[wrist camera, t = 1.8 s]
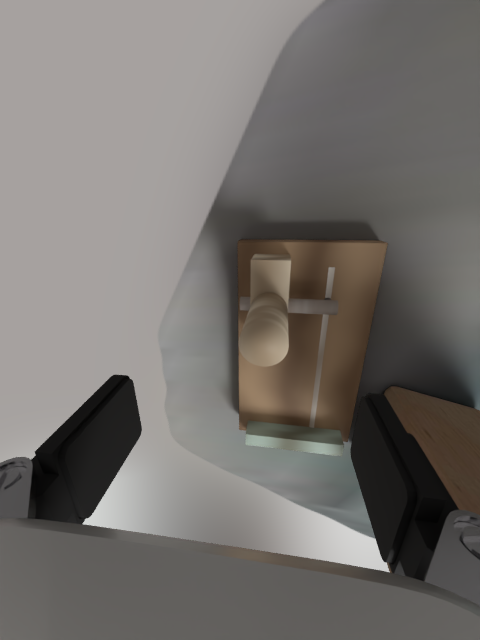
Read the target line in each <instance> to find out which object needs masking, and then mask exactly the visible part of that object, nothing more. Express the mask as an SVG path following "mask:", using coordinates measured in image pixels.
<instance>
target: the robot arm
mask: <svg viewBox="0 0 480 640" xmlns="http://www.w3.org/2000/svg"><path fill="white" fill-rule="evenodd" d="M141 431H142V428H141V421H140V416H139V411H138V406H137V400H136V396H135V390H134V384H133V381H132V380H131V379H130V378H129V377H128V376H126V375H113V376H111V377H110V378H109V379H108V380H107V381H106V382H105V383H104V384H103V385H102V386H101V387H100V388H99V389H98V390H97V391H96V392H95V393H94V394H93V395H92V396H91V397H90V398H89V399H88V400H87V401H86V402H85V403H84V404H83V405H82V406H81V407H80V408H79V409H78V410H77V411H76V412H75V413H74V414H73V415H72V416H71V417H70V418H69V419H68V420H67V421H66V422H65V423H64V424H63V425H62V426H60V427H59V428H58V429H57V431H55V432H54V433H53V434H52V435H51V436H50V437H49V438H48V439H47V440H46V441H45V442H44V443H43V444H42V445H41V446H40V447H39V448H38V449H37V450H36V451H35V454H36V456H35V457H34V458H33V459H32V460H30V459H29V458H26V457H16V458H12V459H9V460H6V461H4V462H1V463H0V640H480V515H478V514H476V513H474V512H470V511H467V510H459V508H458V507H457V505H456V503H455V502H454V500H453V499H452V497H451V495H450V494H449V492H448V490H447V489H446V487H445V486H444V484H443V482H442V481H441V479H440V477H439V476H438V474H437V473H436V471H435V469H434V468H433V466H432V464H431V463H430V461H429V460H428V458H427V456H426V455H425V453H424V452H423V450H422V448H421V447H420V445H419V443H418V442H417V440H416V439H415V437H414V436H413V435H412V434H410V433H407V432H406V430H405V428H404V427H403V425H402V423H401V421H400V420H399V418H398V416H397V415H396V413H395V411H394V410H393V408H392V406H391V405H390V403H389V401H388V400H387V398H386V396H385V395H383V394H370V393H368V394H367V395H366V397H362V398H361V401H360V406H359V410H358V415H357V420H356V425H355V430H354V435H353V440H352V445H351V459H352V462H353V466H354V469H355V472H356V475H357V479H358V482H359V485H360V489H361V492H362V495H363V498H364V502H365V505H366V508H367V512H368V515H369V518H370V521H371V525H372V528H373V531H374V535H375V538H376V541H377V544H378V548H379V551H380V554H381V557H382V559H383V561H384V562H387V563H389V566H390V569H391V572H392V573H389V572H384V571H380V570H374V569H368V568H363V567H357V566H351V565H345V564H340V563H334V562H329V561H322V560H316V559H309V558H303V557H297V556H290V555H283V554H278V553H271V552H265V551H258V550H252V549H246V548H239V547H232V546H226V545H219V544H213V543H206V542H199V541H193V540H186V539H179V538H172V537H166V536H159V535H153V534H146V533H139V532H131V531H125V530H118V529H110V528H104V527H97V526H90V525H83V524H82V523H83V522H84V520H85V519H86V518H89V517H90V516H91V515H92V513H93V512H94V510H95V509H96V507H97V505H98V503H99V502H100V501H101V499H102V497H103V496H104V494H105V492H106V491H107V489H108V488H109V486H110V484H111V482H112V481H113V479H114V478H115V476H116V475H117V473H118V471H119V470H120V468H121V466H122V465H123V463H124V461H125V460H126V458H127V457H128V455H129V453H130V452H131V450H132V448H133V447H134V445H135V444H136V442H137V440H138V439H139V437H140V435H141Z"/></svg>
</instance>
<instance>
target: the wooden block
mask: <svg viewBox="0 0 480 640" xmlns="http://www.w3.org/2000/svg"><path fill="white" fill-rule="evenodd" d="M383 395H385V396H386V398H387V400H388V401H389V403H390V405H391V406H392V408H393V410H394V411H395V413H396V415H397V416H398V418H399V420H400V421H401V423H402V425H403V427H404V428H405V430H406V432H407V433H410V434H412V435H413V436H414V437H415V439H416V440H417V442H418V443H419V445H420V447H421V448H422V450H423V452H424V453H425V455H426V456H427V458H428V460H429V461H430V463H431V464H432V466H433V468H434V469H435V471H436V473H437V474H438V476H439V477H440V479H441V481H442V482H443V484H444V486H445V487H446V489H447V490H448V492H449V494H450V495H451V497H452V499H453V500H454V502H455V503H456V505H457V507H458V508H459V510H467V511H470V512H474V513H476V514H478V515H480V411H479V410H477V409H474V408H471V407H468V406H464V405H460V404H457V403H453V402H450V401H446V400H443V399H439V398H436V397H432V396H429V395H425V394H421V393H418V392H414V391H411V390H407V389H404V388H400V387H397V386H390V387H389V388H388V389H386V391H385V393H384V394H383ZM387 565H388V568H389V571H390V573H392V572H391V569H390V566H389V563H387Z"/></svg>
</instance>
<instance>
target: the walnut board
mask: <svg viewBox="0 0 480 640" xmlns="http://www.w3.org/2000/svg"><path fill="white" fill-rule="evenodd" d="M387 245H388V243H386V242H383V241H379V240H262V239H241V240H239V241H238V338H239V337H240V334H241V331H242V329H243V326H244V323H245V320H246V318H247V315H248V312H249V311H244V310H240V298H241V297H250V291H251V259H252V257H253V256H254V254H290V256H291V270H290V285H289V299H313V300H324V299H325V298H331V300H337V301H338V313H337V315H325V314H305V313H288V338H289V348H288V352H287V354H286V356H285V358H284V359H283V360H282V361H281V362H279V363H278V364H275V365H273V366H268V367H262V366H257V365H254V364H252V363H250V362H248V361H247V360H246V359H245V358H244V357H243V356H242V354H241V352H240V350H239V430H246V445H252V446H260V447H269V448H277V449H285V450H294V451H302V452H310V453H318V454H327V455H335V456H342V453H343V448H344V444H343V441H344V442H348V438H349V433H350V428H351V423H352V418H353V413H354V408H355V403H356V398H357V393H358V388H359V384H360V379H361V374H362V369H363V364H364V359H365V354H366V349H367V344H368V339H369V334H370V329H371V324H372V319H373V314H374V309H375V304H376V299H377V294H378V289H379V284H380V279H381V274H382V269H383V264H384V259H385V254H386V250H387Z"/></svg>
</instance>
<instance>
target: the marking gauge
mask: <svg viewBox="0 0 480 640" xmlns="http://www.w3.org/2000/svg"><path fill="white" fill-rule="evenodd" d="M290 270H291V256H290V254H254V256H253V257H252V259H251V291H250V297H241V298H240V310H244V311H249V312H248V315H247V318H246V320H245V323H244V326H243V329H242V331H241V334H240V337H239V342H238V344H239V350H240V352H241V354H242V356H243V357H244V358H245V359H246V360H247V361H248V362H250V363H252V364H254V365H257V366H262V367H268V366H273V365H275V364H278V363H279V362H281V361H282V360H283V359H284V358H285V356H286V354H287V352H288V348H289V338H288V313H305V314H325V315H337V313H338V301H337V300H331V298H325V299H324V300H313V299H289V285H290Z"/></svg>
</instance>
